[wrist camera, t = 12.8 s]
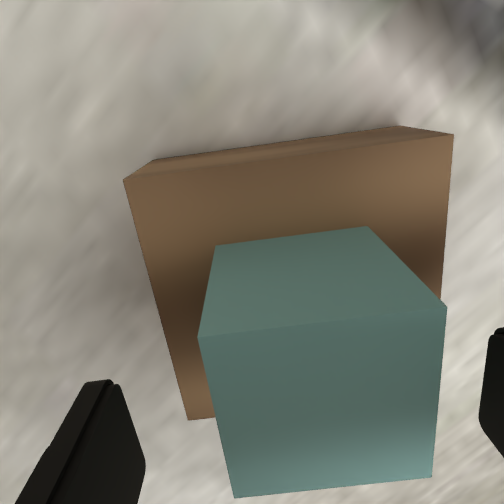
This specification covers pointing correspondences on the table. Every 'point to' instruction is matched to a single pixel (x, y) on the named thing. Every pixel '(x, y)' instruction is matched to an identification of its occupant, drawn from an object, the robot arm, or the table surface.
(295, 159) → the walnut plinth
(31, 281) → the table surface
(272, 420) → the teal cube
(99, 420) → the robot arm
